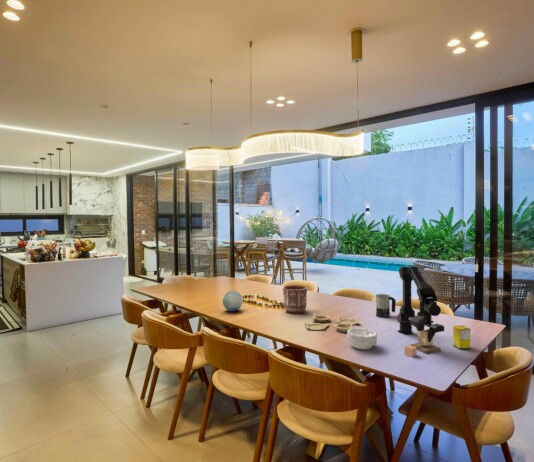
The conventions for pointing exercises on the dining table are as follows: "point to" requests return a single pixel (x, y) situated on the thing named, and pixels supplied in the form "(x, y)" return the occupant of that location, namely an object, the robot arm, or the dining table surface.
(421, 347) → the walnut block
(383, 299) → the milk frother
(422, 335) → the oak block
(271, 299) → the dining table surface
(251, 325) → the dining table surface
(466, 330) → the supplement box
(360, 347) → the paper bowls
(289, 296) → the pottery
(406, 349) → the terracotta cube
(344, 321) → the tableware set
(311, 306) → the dining table surface
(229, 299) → the decorative ball
